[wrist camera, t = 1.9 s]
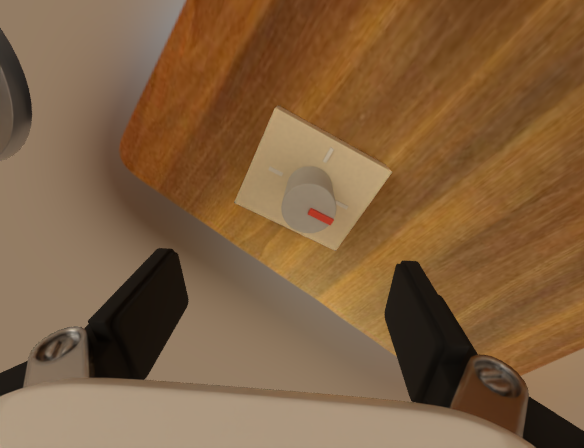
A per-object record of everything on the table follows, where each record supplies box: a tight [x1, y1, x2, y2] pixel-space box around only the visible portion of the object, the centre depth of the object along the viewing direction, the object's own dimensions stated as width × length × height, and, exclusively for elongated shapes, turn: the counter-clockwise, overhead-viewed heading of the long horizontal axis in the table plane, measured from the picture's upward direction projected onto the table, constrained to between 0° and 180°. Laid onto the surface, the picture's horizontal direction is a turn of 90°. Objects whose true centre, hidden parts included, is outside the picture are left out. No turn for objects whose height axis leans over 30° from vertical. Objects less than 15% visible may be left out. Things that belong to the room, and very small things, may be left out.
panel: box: [234, 106, 392, 251], centre depth 26 cm, size 12×10×3 cm
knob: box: [281, 166, 336, 233], centre depth 23 cm, size 4×4×5 cm
